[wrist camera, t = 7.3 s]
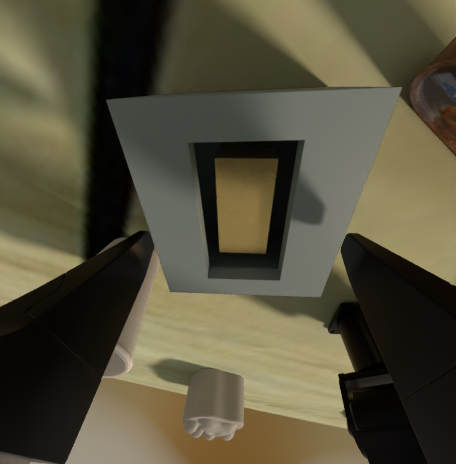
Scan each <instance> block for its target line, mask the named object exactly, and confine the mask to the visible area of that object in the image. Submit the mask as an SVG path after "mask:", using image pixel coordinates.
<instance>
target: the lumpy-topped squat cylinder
mask: <svg viewBox="0 0 456 464" xmlns="http://www.w3.org/2000/svg"><path fill="white" fill-rule="evenodd" d="M243 412H244V379H243V377H242V376H239V375H236V374H231V373H227V372H224V371H221V370H218V369H213V368H207V369H202V370H199V371H198V372H196V373H195V374H193V375H192V376H191V378H190V382H189V388H188V393H187V398H186V404H185V409H184V414H183V420H182V422H183V424H184V428H185V430H186V432H188V433H192V436H193V437H195V438H197V437H199V436H200V435H201V434H203V435H204V437H205V438H206V439H207V440H212V439H213V438H214V437H215V436H222V438H223V439H224V440H227V441H228V440H231V438H232V437H233V436H234V432H235V430H237V429H240V428H242V427H243V424H244V422H243V416H244V414H243Z"/></svg>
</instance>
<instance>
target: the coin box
mask: <svg viewBox="0 0 456 464" xmlns="http://www.w3.org/2000/svg"><path fill="white" fill-rule="evenodd" d="M401 89H402V87H311V88H289V89H267V90H244V91H222V92H200V93H178V94H162V95H152V96H142V97H131V98H121V99H111V100H106V101H107V104H108V107H109V110H110V113H111V116H112V119H113V122H114V125H115V128H116V131H117V134H118V137H119V140H120V143H121V146H122V149H123V152H124V155H125V158H126V161H127V164H128V167H129V170H130V173H131V176H132V179H133V182H134V185H135V188H136V191H137V194H138V197H139V200H140V203H141V206H142V209H143V212H144V215H145V218H146V221H147V224H148V227H149V230H150V233H151V236H152V239H153V242H154V245H155V248H156V251H157V254H158V257H159V260H160V263H161V266H162V269H163V272H164V275H165V278H166V281H167V284H168V287H169V290H170V292H186V293H214V294H242V295H271V296H299V297H321V295H322V292H323V290H324V287H325V284H326V282H327V279H328V277H329V274H330V272H331V269H332V266H333V264H334V261H335V259H336V256H337V254H338V251H339V249H340V246H341V243H342V241H343V238H344V236H345V233H346V231H347V228H348V225H349V223H350V220H351V218H352V215H353V213H354V210H355V207H356V205H357V202H358V200H359V197H360V195H361V192H362V189H363V187H364V184H365V182H366V179H367V177H368V174H369V171H370V169H371V166H372V164H373V161H374V159H375V156H376V153H377V151H378V148H379V146H380V143H381V141H382V138H383V136H384V133H385V130H386V128H387V125H388V123H389V120H390V118H391V115H392V112H393V110H394V107H395V105H396V102H397V100H398V97H399V94H400V92H401ZM242 141H271V144H272V146H273V148H274V150H275V152H276V154H277V157H278V166H277V173H276V181H275V188H274V196H273V203H272V211H271V218H270V225H269V233H268V240H267V248H266V254H258V253H231V252H220V251H219V232H218V212H217V193H216V173H215V156H216V154H217V152H218V149H219V147H220V145H221V142H242Z"/></svg>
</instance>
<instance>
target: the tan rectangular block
mask: <svg viewBox="0 0 456 464" xmlns="http://www.w3.org/2000/svg"><path fill="white" fill-rule="evenodd" d="M277 166H278V157H277V154H276V152H275V150H274V148H273V146H272V144H271V141H242V142H221V145H220V147H219V149H218V152H217V154H216V156H215V173H216V193H217V212H218V232H219V251H220V252H231V253H258V254H266V248H267V240H268V233H269V225H270V218H271V211H272V203H273V196H274V188H275V181H276V173H277Z"/></svg>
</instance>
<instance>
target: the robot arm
mask: <svg viewBox="0 0 456 464" xmlns="http://www.w3.org/2000/svg"><path fill="white" fill-rule="evenodd" d="M153 250H154V243H153V240H152V237H151V234H150V232H149V231H139V232H137V233H135V234H133V235H132V236H130V237H128V238H126V239H125V240H123V241H121V242H119V243H117V244H116V245H114V246H112V247H110V248H109V249H107V250H105V251H103V252H101V253H100V254H98V255H96V256H94V257H92V258H91V259H89V260H87V261H85V262H84V263H82V264H80V265H78V266H76V267H75V268H73V269H71V270H69V271H68V272H66V273H64V274H62V275H60V276H59V277H57V278H55V279H53V280H51V281H50V282H48V283H46V284H44V285H42V286H40V287H39V288H37V289H35V290H33V291H31V292H29V293H27V294H25V295H23V296H21V297H19V298H17V299H15V300H13V301H11V302H9V303H7V304H5V305H3V306H1V307H0V464H29V463H30V462H38V463H47V464H65V462H66V460H67V459H68V456H69V454H70V452H71V450H72V447H73V445H74V443H75V440H76V438H77V436H78V433H79V431H80V429H81V426H82V424H83V422H84V419H85V417H86V414H87V412H88V410H89V408H90V405H91V403H92V401H93V398H94V396H95V394H96V391H97V389H98V387H99V384H100V382H101V378H102V377H103V375H104V372H105V370H106V368H107V365H108V363H109V361H110V358H111V356H112V354H113V351H114V349H115V347H116V344H117V342H118V340H119V337H120V335H121V333H122V330H123V328H124V326H125V323H126V321H127V319H128V316H129V314H130V312H131V309H132V307H133V305H134V302H135V300H136V298H137V295H138V293H139V291H140V288H141V286H142V284H143V281H144V279H145V276H146V274H147V270H148V267H149V264H150V260H151V257H152V254H153ZM341 255H342V258H343V261H344V265H345V268H346V272H347V275H348V278H349V281H350V284H351V286H352V289H353V291H354V293H355V296H356V298H357V300H358V303H359V304H353V303H343V304H341V305H340V306H339V308H338V310H337V312H336V314H335V316H334V318H333V320H332V322H331V324H330V326H329V328H328V332H329V333H330V334H341V337H342V339H343V342H344V345H345V347H346V350H347V352H348V355H349V358H350V360H351V363H352V365H353V368H354V371H355V372H352V373H347V374H344V373H341V374H338V376H339V385H340V390H341V394H342V399H343V404H344V409H345V413H346V418H347V428H348V431H349V433H350V435H351V436H353V438H354V439H355V441H356V443H357V445H358V448H359V449H360V451H361V453H362V454H363V456H364V457H365V458H367V459H368V461H369V464H456V286H454V285H451V284H450V283H449V282H447V281H445V280H443V279H441V278H439V277H438V276H436V275H434V274H432V273H430V272H428V271H426V270H425V269H423V268H421V267H419V266H417V265H415V264H414V263H412V262H410V261H408V260H406V259H404V258H402V257H401V256H399V255H397V254H395V253H393V252H391V251H389V250H388V249H386V248H384V247H382V246H380V245H378V244H377V243H375V242H373V241H371V240H369V239H367V238H365V237H364V236H362V235H360V234H358V233H348V234H347V235H346V236H345V239H344V241H343V244H342V246H341Z"/></svg>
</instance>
